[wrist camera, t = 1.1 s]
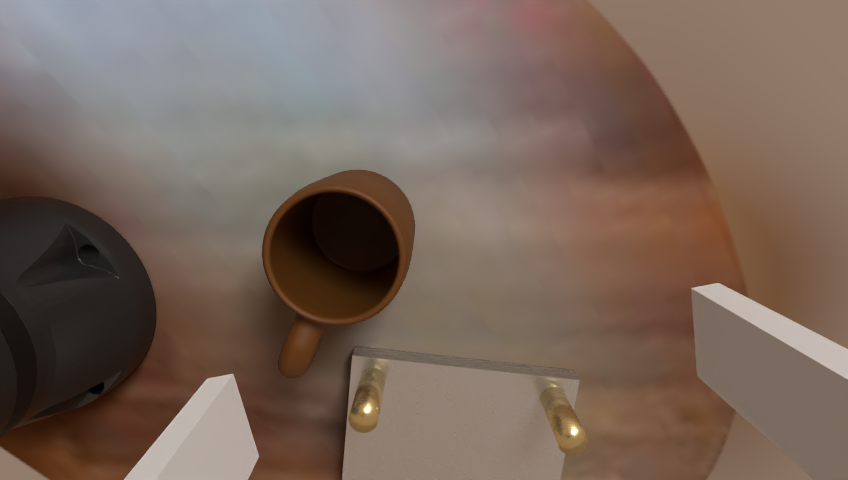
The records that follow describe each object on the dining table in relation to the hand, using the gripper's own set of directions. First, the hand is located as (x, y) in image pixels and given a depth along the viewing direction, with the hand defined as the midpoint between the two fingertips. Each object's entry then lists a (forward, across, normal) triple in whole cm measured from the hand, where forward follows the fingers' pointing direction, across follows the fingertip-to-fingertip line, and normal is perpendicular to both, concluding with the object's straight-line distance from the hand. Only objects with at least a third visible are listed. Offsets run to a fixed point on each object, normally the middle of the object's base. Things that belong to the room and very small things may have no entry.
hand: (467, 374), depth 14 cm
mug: (+21, -6, 0) cm, 22 cm away
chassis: (+20, -3, -19) cm, 28 cm away
